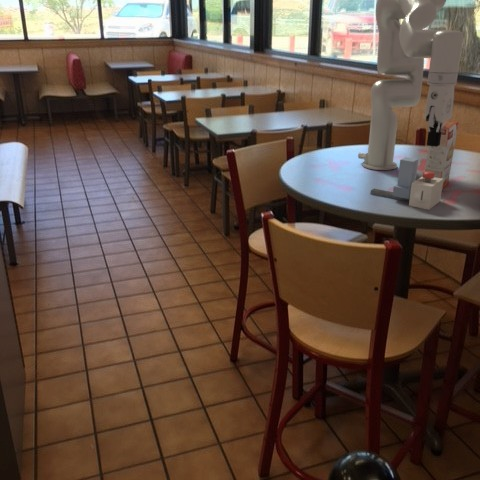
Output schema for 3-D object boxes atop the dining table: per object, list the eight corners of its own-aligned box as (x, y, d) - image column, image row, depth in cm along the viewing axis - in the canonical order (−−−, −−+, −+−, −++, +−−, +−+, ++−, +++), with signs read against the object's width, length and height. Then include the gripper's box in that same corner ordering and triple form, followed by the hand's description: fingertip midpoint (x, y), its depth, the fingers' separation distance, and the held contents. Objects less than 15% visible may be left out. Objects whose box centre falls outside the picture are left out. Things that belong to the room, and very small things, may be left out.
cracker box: (440, 193, 163) (450, 127, 155) (421, 191, 166) (430, 125, 158) (449, 183, 174) (459, 120, 166) (431, 180, 177) (440, 119, 169)
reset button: (419, 183, 151) (421, 173, 150) (423, 180, 154) (425, 170, 153) (431, 184, 150) (432, 174, 148) (435, 182, 152) (436, 172, 151)
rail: (370, 193, 163) (370, 190, 163) (373, 192, 165) (373, 188, 164) (413, 202, 155) (413, 198, 155) (416, 200, 157) (416, 196, 156)
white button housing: (408, 205, 152) (411, 183, 149) (420, 197, 160) (423, 175, 157) (428, 210, 149) (431, 186, 146) (440, 200, 156) (443, 178, 153)
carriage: (392, 195, 156) (396, 160, 152) (401, 190, 161) (405, 156, 157) (408, 199, 153) (413, 163, 149) (417, 193, 158) (421, 158, 154)
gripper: (447, 82, 133) (437, 152, 140) (464, 77, 144) (454, 143, 151) (419, 80, 137) (410, 148, 144) (437, 76, 148) (429, 140, 155)
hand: (433, 145), depth 147 cm, fingers closed
